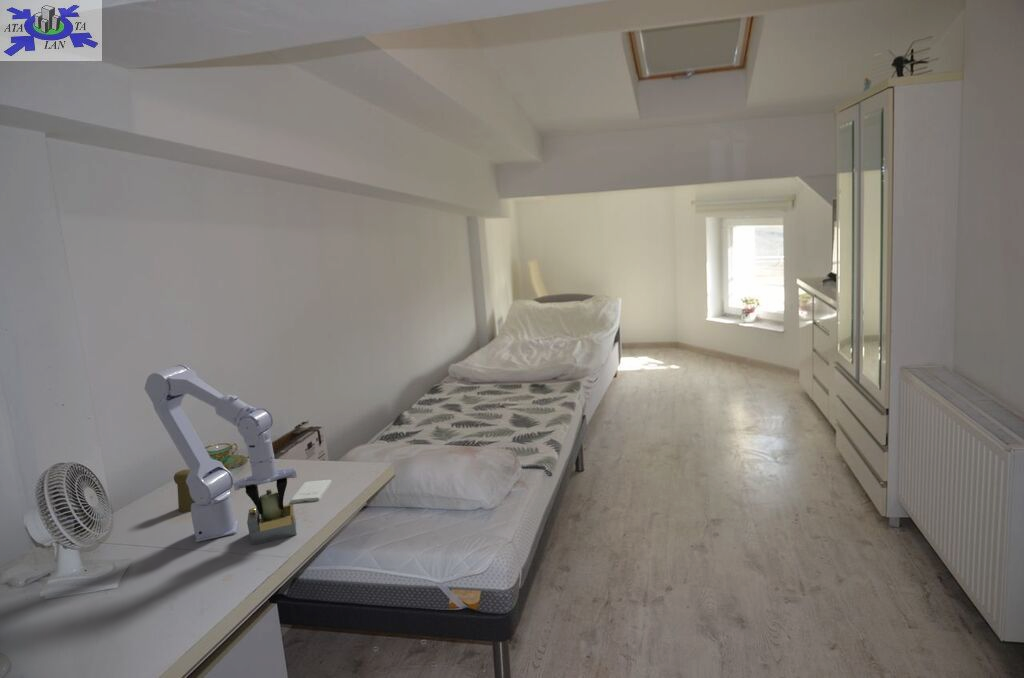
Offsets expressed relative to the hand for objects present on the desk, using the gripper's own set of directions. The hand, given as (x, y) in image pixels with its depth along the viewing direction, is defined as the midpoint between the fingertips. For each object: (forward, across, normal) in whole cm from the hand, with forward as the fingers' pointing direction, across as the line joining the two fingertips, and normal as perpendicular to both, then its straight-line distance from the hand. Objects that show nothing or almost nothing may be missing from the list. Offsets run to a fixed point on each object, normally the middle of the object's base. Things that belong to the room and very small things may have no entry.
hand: (271, 510), depth 163 cm
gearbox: (+6, 0, 0) cm, 6 cm away
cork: (+6, -24, +31) cm, 39 cm away
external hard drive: (+7, +10, +22) cm, 25 cm away
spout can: (+2, 0, 0) cm, 2 cm away
